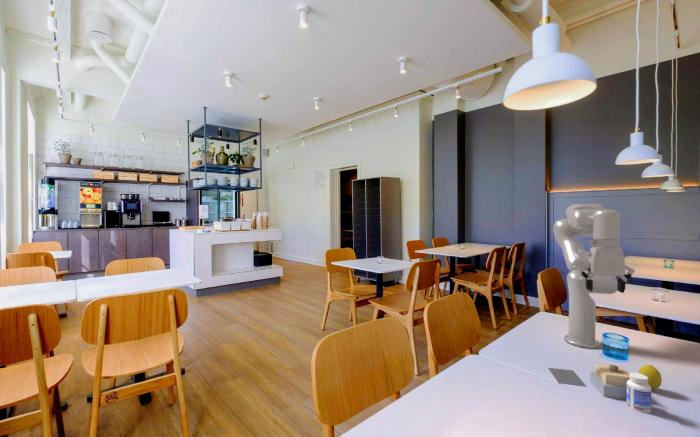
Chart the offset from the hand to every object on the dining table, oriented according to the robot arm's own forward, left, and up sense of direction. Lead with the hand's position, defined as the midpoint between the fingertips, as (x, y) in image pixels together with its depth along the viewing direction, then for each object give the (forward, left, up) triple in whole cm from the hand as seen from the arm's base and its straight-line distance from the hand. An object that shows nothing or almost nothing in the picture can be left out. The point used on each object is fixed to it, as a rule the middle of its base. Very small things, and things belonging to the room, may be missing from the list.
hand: (604, 290), depth 118 cm
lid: (+18, -5, -24) cm, 31 cm away
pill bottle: (+26, -2, -28) cm, 39 cm away
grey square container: (+18, -5, -28) cm, 34 cm away
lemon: (+13, +7, -28) cm, 32 cm away
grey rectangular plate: (+12, -16, -28) cm, 35 cm away
